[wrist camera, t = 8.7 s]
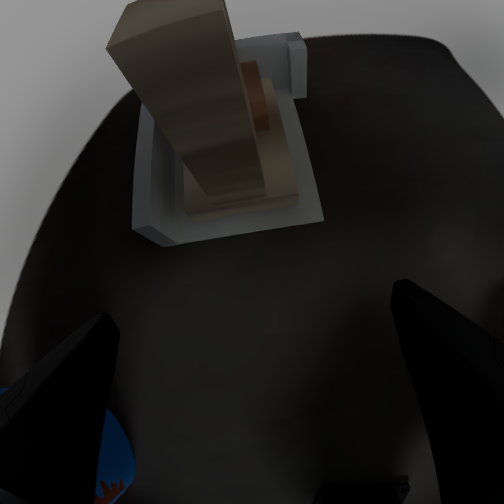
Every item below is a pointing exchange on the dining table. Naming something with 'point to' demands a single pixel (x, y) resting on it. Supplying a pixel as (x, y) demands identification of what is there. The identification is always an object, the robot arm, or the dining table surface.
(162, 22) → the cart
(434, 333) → the robot arm
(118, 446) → the thermos
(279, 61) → the bay
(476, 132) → the dining table surface
